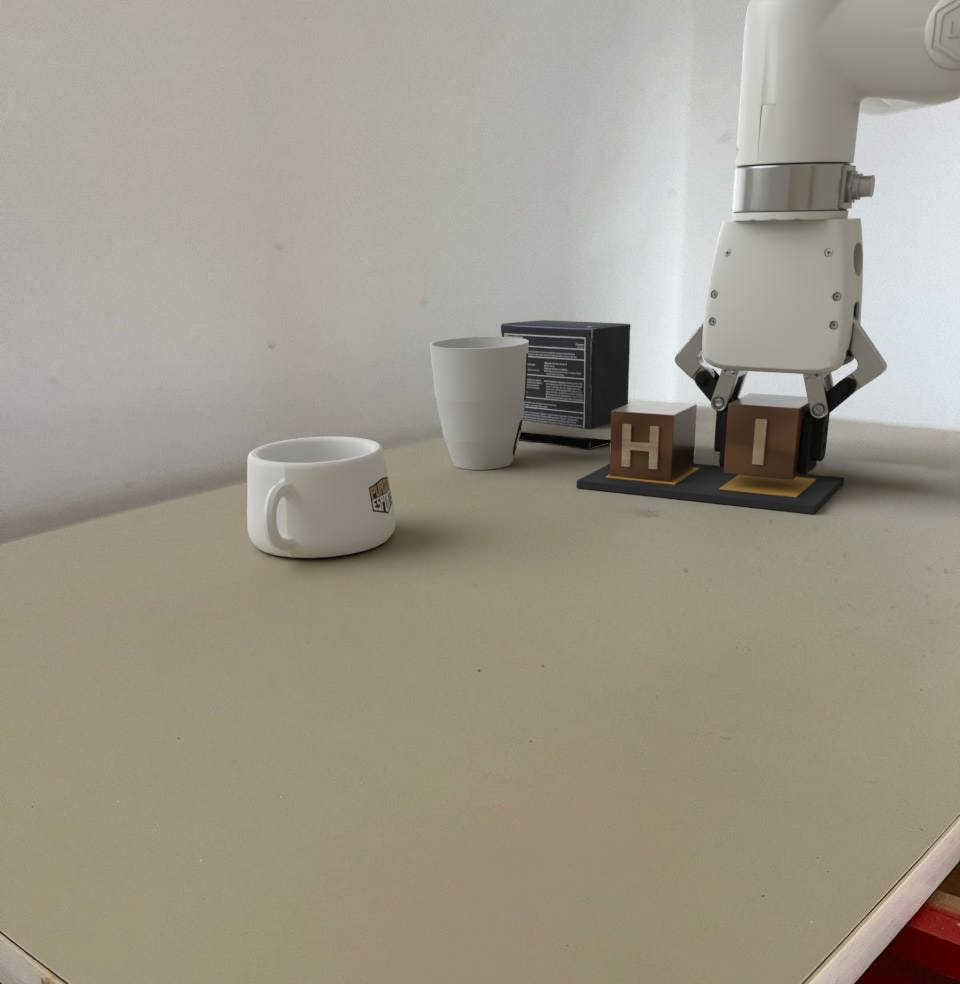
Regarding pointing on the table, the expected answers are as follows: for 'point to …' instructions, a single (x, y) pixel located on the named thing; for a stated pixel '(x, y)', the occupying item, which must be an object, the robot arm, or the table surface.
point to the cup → (480, 398)
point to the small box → (573, 375)
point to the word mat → (726, 488)
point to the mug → (318, 497)
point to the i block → (764, 435)
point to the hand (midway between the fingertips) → (767, 463)
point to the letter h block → (652, 440)
